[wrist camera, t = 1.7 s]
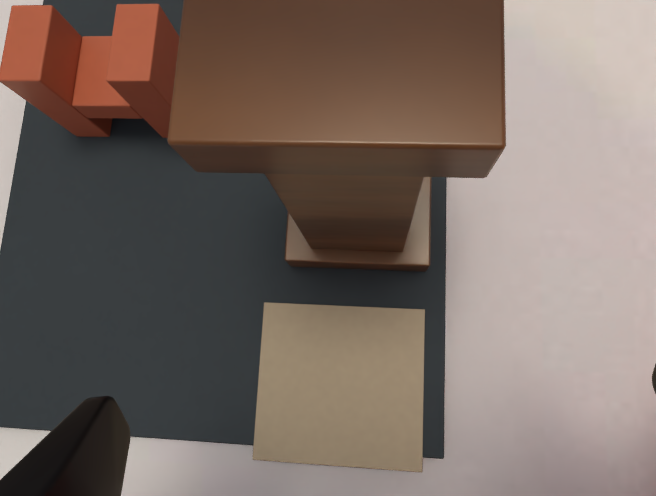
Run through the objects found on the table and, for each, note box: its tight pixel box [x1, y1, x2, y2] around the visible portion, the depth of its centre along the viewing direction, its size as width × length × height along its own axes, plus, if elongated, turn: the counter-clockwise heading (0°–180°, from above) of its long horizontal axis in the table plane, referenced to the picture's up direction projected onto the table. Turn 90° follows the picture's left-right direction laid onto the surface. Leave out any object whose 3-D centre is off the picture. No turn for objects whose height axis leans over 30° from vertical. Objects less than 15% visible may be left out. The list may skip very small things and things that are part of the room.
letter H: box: [0, 4, 179, 138], centre depth 21 cm, size 3×6×5 cm, turn 87°
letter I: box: [167, 0, 506, 272], centre depth 15 cm, size 4×6×13 cm
